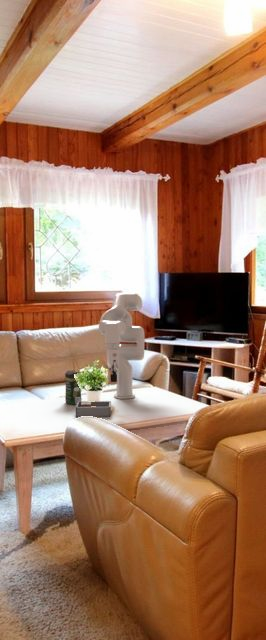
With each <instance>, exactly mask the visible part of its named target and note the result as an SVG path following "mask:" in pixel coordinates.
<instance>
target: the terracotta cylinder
mask: <svg viewBox="0 0 266 640" xmlns="http://www.w3.org/2000/svg"><path fill="white" fill-rule="evenodd" d="M112 371H113V370H112ZM116 384H117V382H111V370H109V369H107V385H112V386H113V385H116Z"/></svg>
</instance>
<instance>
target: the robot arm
mask: <svg viewBox="0 0 266 640" xmlns="http://www.w3.org/2000/svg"><path fill="white" fill-rule="evenodd" d="M111 305H112V306H111V308H109V309H108V310H107V311H105V312H104V313H103V314H102V315H101V317H100V320H99V324H98V332H99V333H100V334H101V335H103V336H104V337H105V338H104V341H105V342H104V345H105V347H104V349H105V350H106V365H107V368H108V370H111V382H117V384H115V385H116V387H115V388H116V393H114V394H113V398H115V399H119V400H122V399H123V400H128V399H134V398H136V394H135V393H133V366H132V364H131V363H130V362H129V361H142V360H143V359H144V358H145V340H146V339H145V329H144V328H143V326H140V325H133V317H132V315H131V314H130V312H129V311H131V312H133V311H134V312H135V311H136V312H138V311H140V310H141V309H142V308H143V300H142V297H141V296H140V295H139V294H138V293H136V292H120V293H116V294H115V296H114V297H113V299H112V304H111ZM124 342H125V343H124ZM123 343H124V344H123ZM126 343H127V344H126ZM129 343H134V344H129ZM135 343H136V344H135ZM112 370H113V371H112Z"/></svg>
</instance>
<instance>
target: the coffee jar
mask: <svg viewBox="0 0 266 640" xmlns="http://www.w3.org/2000/svg"><path fill="white" fill-rule="evenodd" d="M77 373H80V372H78V371H76V370H72V369H71V370H67V371H66V372H65V374H64V375H65V377H64V378H65V380H64V381H65V403H67V404H68V405H70V406H72V405H74V406H76V405H77V403H78V401H82V388H81V389H80V388H79V386H78V384H77V382H76V380H75V378H74V374H77Z"/></svg>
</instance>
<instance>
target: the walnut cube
mask: <svg viewBox="0 0 266 640" xmlns="http://www.w3.org/2000/svg"><path fill="white" fill-rule="evenodd" d="M81 407H91V402H82V403H81Z"/></svg>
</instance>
